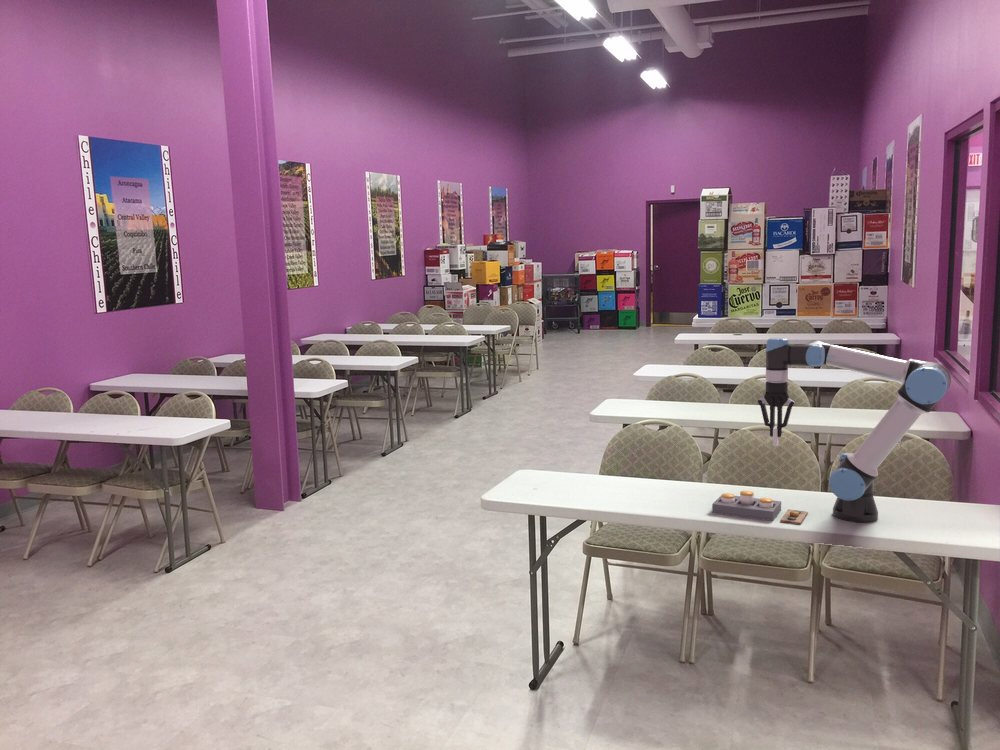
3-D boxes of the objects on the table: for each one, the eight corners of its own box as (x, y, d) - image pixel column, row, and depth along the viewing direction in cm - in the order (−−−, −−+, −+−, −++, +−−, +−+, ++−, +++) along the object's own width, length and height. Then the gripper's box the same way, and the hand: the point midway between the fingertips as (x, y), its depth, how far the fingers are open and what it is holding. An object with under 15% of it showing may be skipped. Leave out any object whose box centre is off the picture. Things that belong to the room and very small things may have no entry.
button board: (781, 510, 305) (781, 501, 304) (773, 521, 293) (773, 511, 292) (722, 503, 316) (722, 494, 315) (712, 513, 304) (712, 503, 303)
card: (807, 513, 300) (807, 508, 300) (800, 524, 288) (800, 519, 288) (788, 511, 304) (788, 506, 303) (780, 522, 292) (780, 516, 291)
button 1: (735, 505, 309) (736, 494, 308) (732, 508, 304) (732, 497, 304) (723, 503, 311) (723, 492, 310) (719, 507, 307) (719, 495, 306)
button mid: (754, 503, 305) (755, 491, 304) (751, 506, 301) (752, 494, 300) (741, 501, 307) (742, 490, 307) (738, 504, 303) (738, 493, 302)
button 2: (774, 510, 302) (774, 498, 301) (771, 513, 297) (771, 502, 297) (760, 508, 304) (761, 497, 303) (757, 512, 300) (758, 500, 299)
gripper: (797, 380, 292) (796, 444, 296) (760, 378, 299) (759, 441, 302) (793, 383, 286) (792, 449, 289) (755, 381, 293) (754, 446, 296)
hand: (775, 445), depth 296 cm, fingers closed
